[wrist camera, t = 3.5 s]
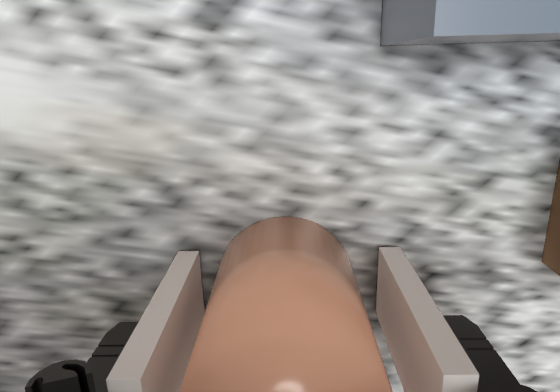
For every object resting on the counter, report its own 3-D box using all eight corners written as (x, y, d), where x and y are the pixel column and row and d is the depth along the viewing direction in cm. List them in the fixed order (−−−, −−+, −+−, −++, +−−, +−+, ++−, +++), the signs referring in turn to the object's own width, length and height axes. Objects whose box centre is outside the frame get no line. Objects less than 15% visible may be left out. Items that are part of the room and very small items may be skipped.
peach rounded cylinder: (223, 335, 17) (183, 517, 10) (214, 217, 15) (159, 339, 9) (350, 333, 17) (393, 515, 10) (353, 214, 15) (407, 335, 8)
